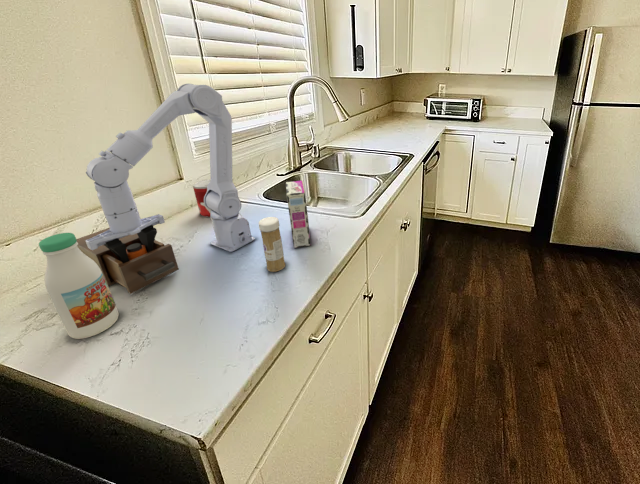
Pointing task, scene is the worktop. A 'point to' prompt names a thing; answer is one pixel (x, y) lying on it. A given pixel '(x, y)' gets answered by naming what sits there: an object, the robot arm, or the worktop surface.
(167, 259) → the drawer
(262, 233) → the sprinkles bottle
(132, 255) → the orange cylinder
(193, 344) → the worktop surface
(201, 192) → the red coffee cup
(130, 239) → the cabinet
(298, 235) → the candy bar box
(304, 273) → the worktop surface
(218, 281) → the worktop surface
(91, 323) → the milk bottle
